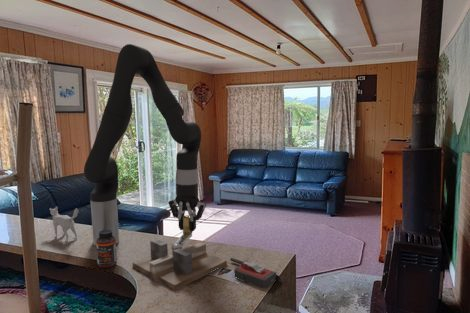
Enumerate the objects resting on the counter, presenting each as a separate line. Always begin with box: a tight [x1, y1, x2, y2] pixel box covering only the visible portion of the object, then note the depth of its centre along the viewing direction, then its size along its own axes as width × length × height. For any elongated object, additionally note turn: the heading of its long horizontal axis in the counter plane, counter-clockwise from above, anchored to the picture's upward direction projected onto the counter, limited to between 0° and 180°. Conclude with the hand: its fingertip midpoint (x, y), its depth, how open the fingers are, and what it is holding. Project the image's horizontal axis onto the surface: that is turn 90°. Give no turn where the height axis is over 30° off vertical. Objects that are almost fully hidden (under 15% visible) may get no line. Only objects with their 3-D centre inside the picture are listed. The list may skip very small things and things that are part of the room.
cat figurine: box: [49, 205, 80, 243], centre depth 136 cm, size 4×20×14 cm, turn 54°
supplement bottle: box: [95, 230, 117, 269], centre depth 113 cm, size 6×6×11 cm
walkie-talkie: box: [229, 257, 281, 289], centre depth 105 cm, size 9×4×20 cm
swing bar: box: [171, 214, 193, 250], centre depth 114 cm, size 13×3×7 cm, turn 167°
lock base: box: [132, 238, 228, 291], centre depth 111 cm, size 22×21×8 cm
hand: (187, 229), depth 119 cm, fingers closed on swing bar, 3 cm apart
